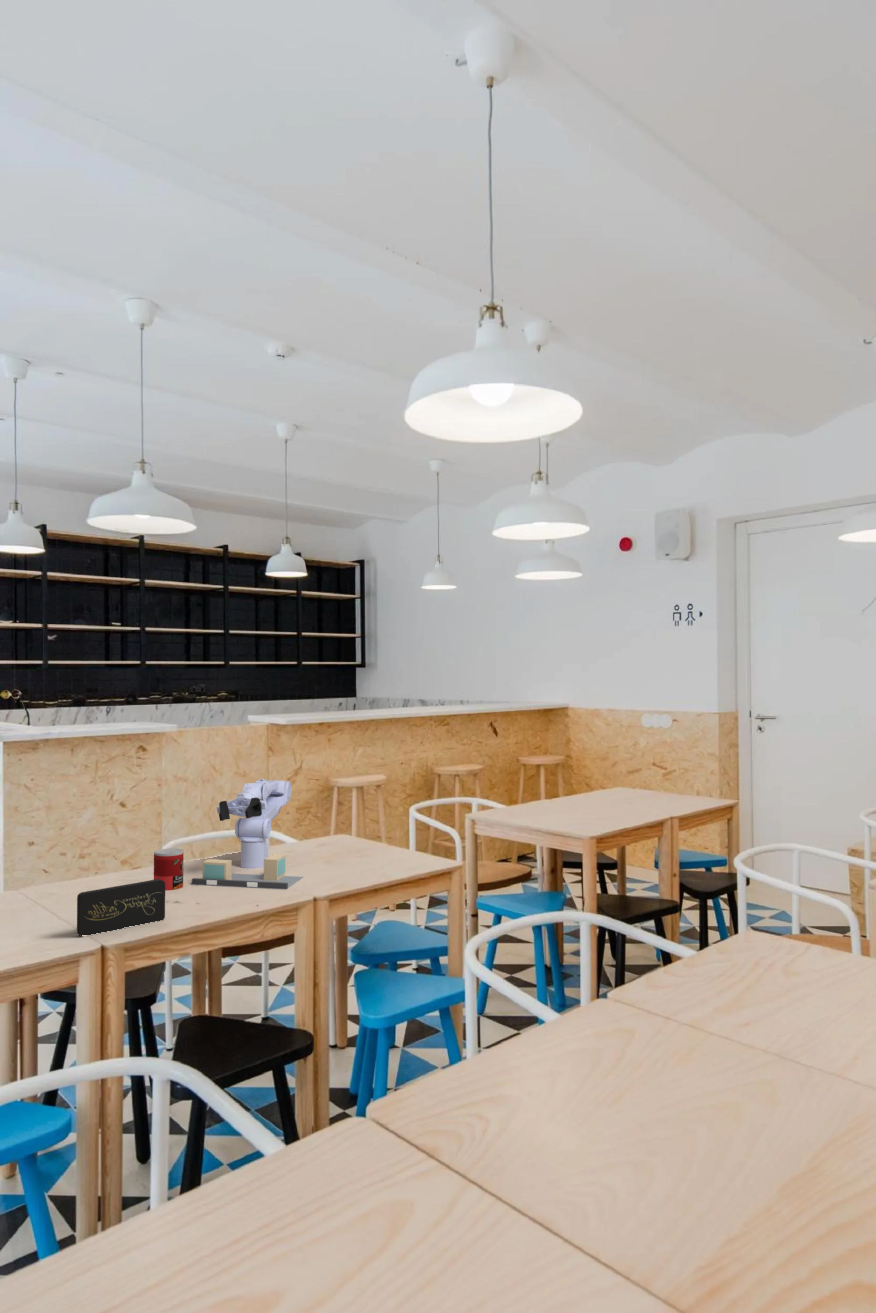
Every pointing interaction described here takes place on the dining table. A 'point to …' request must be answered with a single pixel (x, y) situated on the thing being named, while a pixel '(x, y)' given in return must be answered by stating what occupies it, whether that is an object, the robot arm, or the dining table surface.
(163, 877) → the canned food
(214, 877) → the faced carton
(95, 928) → the nameplate
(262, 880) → the shelf board
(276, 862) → the carton
